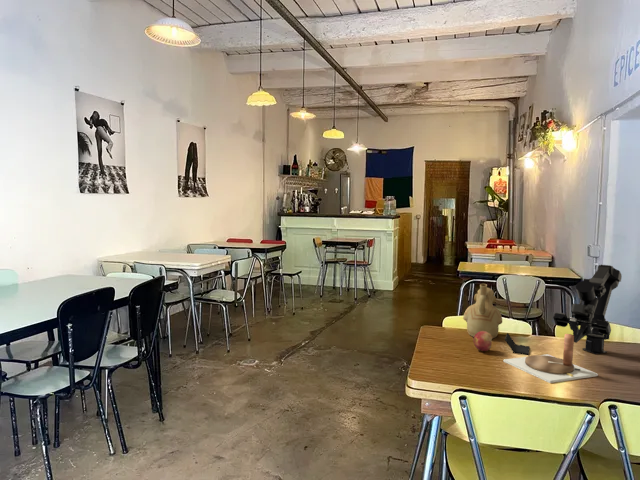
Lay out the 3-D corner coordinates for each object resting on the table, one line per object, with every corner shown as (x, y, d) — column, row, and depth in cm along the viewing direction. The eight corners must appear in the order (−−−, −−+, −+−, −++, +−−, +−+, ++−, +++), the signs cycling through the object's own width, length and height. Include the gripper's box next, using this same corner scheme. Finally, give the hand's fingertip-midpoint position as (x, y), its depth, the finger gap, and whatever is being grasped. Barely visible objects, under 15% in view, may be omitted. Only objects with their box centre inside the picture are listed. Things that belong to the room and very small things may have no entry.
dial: (526, 369, 163) (528, 336, 162) (524, 355, 178) (525, 325, 177) (577, 376, 158) (579, 341, 157) (570, 361, 172) (572, 330, 172)
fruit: (486, 355, 182) (487, 335, 181) (469, 350, 187) (469, 331, 187) (496, 351, 187) (497, 332, 186) (478, 346, 193) (479, 328, 192)
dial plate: (547, 356, 182) (547, 352, 182) (597, 375, 161) (598, 372, 161) (503, 361, 175) (503, 358, 174) (549, 383, 154) (550, 379, 154)
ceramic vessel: (502, 332, 215) (505, 280, 213) (500, 343, 198) (503, 286, 196) (465, 327, 222) (467, 276, 220) (459, 338, 205) (461, 282, 203)
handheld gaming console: (534, 352, 182) (518, 330, 184) (518, 361, 183) (503, 340, 186) (530, 347, 193) (515, 327, 195) (515, 356, 194) (501, 336, 197)
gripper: (556, 291, 179) (543, 324, 172) (611, 299, 165) (599, 335, 159) (562, 308, 185) (550, 340, 178) (615, 317, 171) (604, 352, 165)
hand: (575, 341), depth 170 cm, fingers closed
